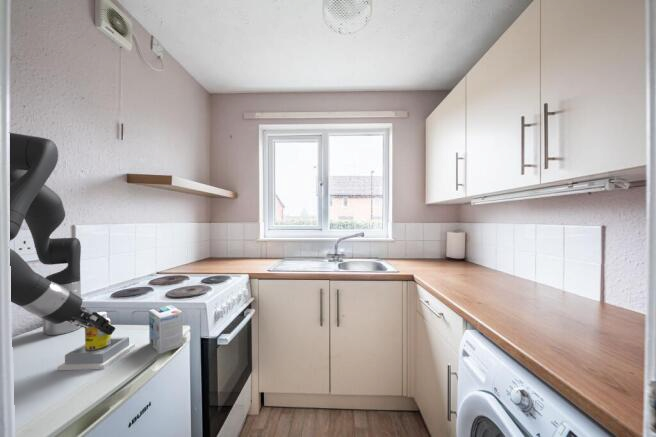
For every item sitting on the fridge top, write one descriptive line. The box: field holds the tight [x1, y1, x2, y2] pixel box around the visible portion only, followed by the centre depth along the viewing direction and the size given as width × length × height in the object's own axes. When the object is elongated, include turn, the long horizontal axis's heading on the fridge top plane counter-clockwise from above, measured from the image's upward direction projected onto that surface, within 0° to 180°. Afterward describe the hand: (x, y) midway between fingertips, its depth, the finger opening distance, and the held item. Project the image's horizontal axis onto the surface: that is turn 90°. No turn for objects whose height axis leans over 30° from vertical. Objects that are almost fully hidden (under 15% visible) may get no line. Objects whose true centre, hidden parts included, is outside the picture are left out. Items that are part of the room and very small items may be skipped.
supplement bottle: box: [84, 311, 112, 353], centre depth 78 cm, size 6×6×10 cm
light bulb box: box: [148, 304, 184, 354], centre depth 85 cm, size 11×7×11 cm, turn 48°
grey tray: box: [57, 336, 136, 371], centre depth 78 cm, size 12×12×4 cm
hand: (104, 330), depth 79 cm, fingers closed on supplement bottle, 5 cm apart
